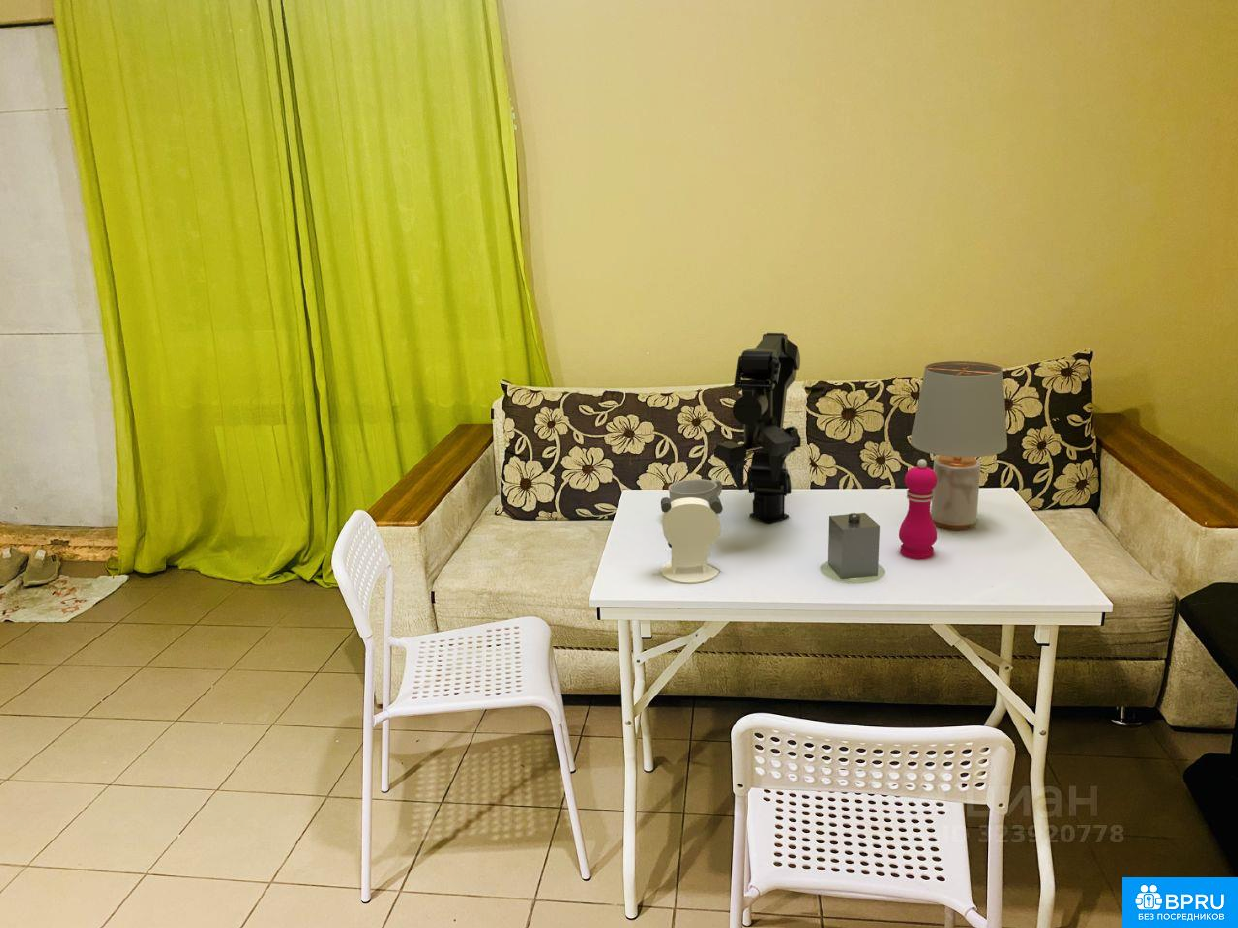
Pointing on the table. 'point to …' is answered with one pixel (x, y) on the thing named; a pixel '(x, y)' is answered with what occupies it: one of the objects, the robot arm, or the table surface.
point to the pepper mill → (919, 513)
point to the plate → (832, 575)
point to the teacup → (695, 489)
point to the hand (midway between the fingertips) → (757, 484)
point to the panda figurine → (690, 537)
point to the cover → (853, 545)
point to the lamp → (959, 433)
